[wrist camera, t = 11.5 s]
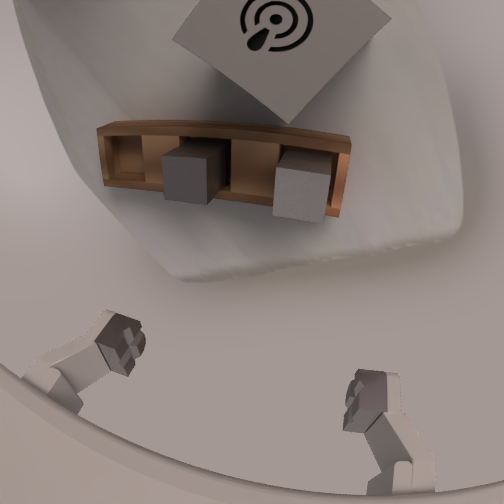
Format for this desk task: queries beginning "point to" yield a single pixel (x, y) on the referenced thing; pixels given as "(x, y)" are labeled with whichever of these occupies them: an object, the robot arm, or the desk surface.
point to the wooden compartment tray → (242, 155)
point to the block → (196, 169)
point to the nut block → (302, 184)
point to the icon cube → (280, 44)
